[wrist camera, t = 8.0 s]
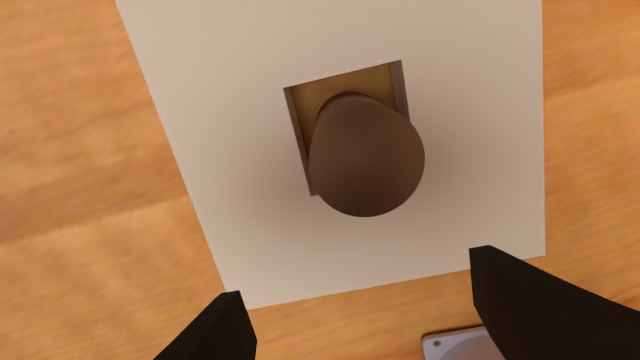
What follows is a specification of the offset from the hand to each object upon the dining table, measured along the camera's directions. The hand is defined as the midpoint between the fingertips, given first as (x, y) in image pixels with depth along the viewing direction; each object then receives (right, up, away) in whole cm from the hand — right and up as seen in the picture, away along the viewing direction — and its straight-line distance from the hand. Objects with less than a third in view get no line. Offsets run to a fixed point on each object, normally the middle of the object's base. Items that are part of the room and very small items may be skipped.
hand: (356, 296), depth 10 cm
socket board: (+1, +7, +9) cm, 11 cm away
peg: (+1, +7, +9) cm, 11 cm away
